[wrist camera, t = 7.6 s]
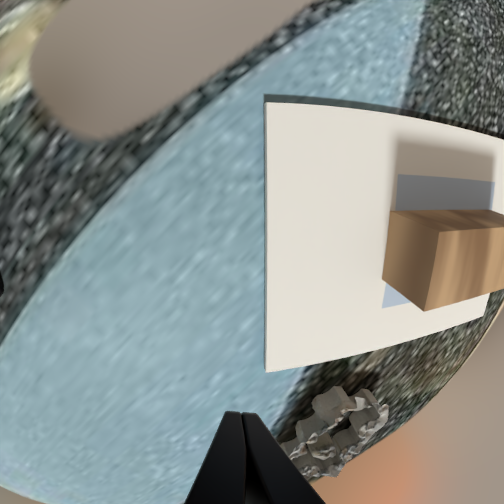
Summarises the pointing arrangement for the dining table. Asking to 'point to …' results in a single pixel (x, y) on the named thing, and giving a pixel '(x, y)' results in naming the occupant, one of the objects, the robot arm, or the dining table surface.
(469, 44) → the dining table surface
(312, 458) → the egg carton
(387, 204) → the mat
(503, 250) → the oak block
